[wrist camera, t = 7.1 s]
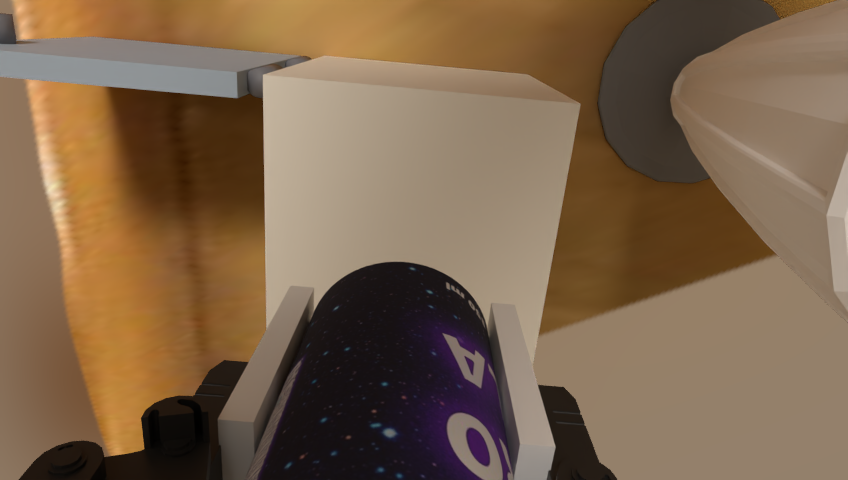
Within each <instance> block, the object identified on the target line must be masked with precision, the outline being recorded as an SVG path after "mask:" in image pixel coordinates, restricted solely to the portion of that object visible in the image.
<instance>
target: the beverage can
mask: <svg viewBox="0 0 848 480" xmlns="http://www.w3.org/2000/svg"><path fill="white" fill-rule="evenodd" d="M245 480H514V476H513V471H512V465H511V459H510V454H509V448H508V443H507V437H506V431H505V426H504V420H503V414H502V409H501V403H500V397H499V392H498V386H497V381H496V375H495V369H494V364H493V358H492V352H491V347H490V341H489V336H488V330H487V325H486V322H485V319H484V316H483V313H482V311H481V309H480V307H479V306H478V304H477V302H476V301H475V300H474V298H473V297H472V296H471V294H470V293H469V292H468V291H467V290H466V289H465V288H464V287H463V286H462V285H460V284H459V283H458V282H457V281H455V280H454V279H453V278H451V277H449V276H448V275H446V274H444V273H442V272H440V271H438V270H436V269H433V268H431V267H428V266H424V265H420V264H416V263H410V262H383V263H377V264H373V265H369V266H366V267H363V268H360V269H358V270H355V271H353V272H351V273H349V274H347V275H346V276H344V277H343V278H341V279H340V280H339V281H337V282H336V283H335V284H334V285H333V286H331V287H330V289H329V290H328V291H327V292H326V293H325V294H324V295H323V297H322V298H321V300H320V301H319V303H318V305H317V307H316V309H315V311H314V313H313V316H312V318H311V320H310V323H309V325H308V328H307V330H306V332H305V335H304V337H303V340H302V342H301V345H300V347H299V349H298V352H297V354H296V357H295V359H294V362H293V364H292V366H291V369H290V371H289V374H288V376H287V378H286V381H285V383H284V386H283V388H282V391H281V393H280V395H279V398H278V400H277V403H276V405H275V407H274V410H273V412H272V415H271V417H270V420H269V422H268V424H267V427H266V429H265V432H264V434H263V436H262V439H261V441H260V444H259V446H258V449H257V451H256V453H255V456H254V458H253V461H252V463H251V465H250V468H249V470H248V473H247V475H246V478H245Z"/></svg>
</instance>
